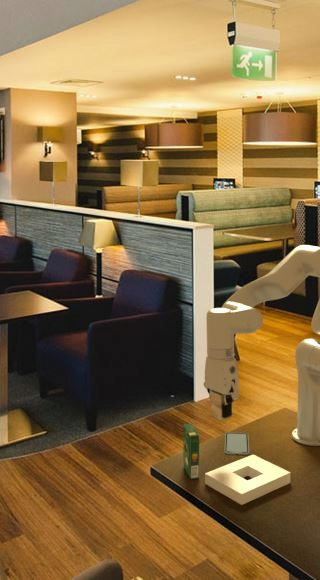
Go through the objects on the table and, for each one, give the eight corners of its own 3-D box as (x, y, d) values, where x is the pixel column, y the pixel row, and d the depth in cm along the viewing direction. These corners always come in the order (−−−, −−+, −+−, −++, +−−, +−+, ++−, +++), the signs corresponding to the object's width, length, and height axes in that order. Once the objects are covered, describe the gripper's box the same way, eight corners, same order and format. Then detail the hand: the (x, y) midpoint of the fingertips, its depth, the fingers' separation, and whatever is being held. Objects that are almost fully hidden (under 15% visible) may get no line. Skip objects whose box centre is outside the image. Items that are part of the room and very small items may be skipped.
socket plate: (253, 464, 179) (253, 454, 178) (290, 482, 168) (290, 472, 167) (205, 483, 168) (205, 473, 168) (241, 504, 157) (241, 494, 157)
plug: (221, 413, 181) (221, 386, 180) (231, 417, 178) (230, 390, 176) (211, 416, 179) (210, 390, 177) (220, 420, 176) (220, 393, 174)
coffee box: (200, 479, 171) (199, 434, 168) (190, 480, 170) (189, 435, 168) (193, 466, 178) (192, 422, 176) (183, 467, 178) (182, 423, 175)
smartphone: (248, 433, 199) (249, 453, 185) (248, 435, 199) (249, 455, 185) (225, 432, 200) (224, 452, 186) (225, 434, 200) (224, 455, 186)
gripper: (251, 356, 170) (251, 419, 174) (210, 343, 183) (211, 402, 187) (231, 362, 166) (231, 426, 169) (191, 348, 179) (192, 409, 183)
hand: (221, 413), depth 178 cm, fingers closed on plug, 4 cm apart
